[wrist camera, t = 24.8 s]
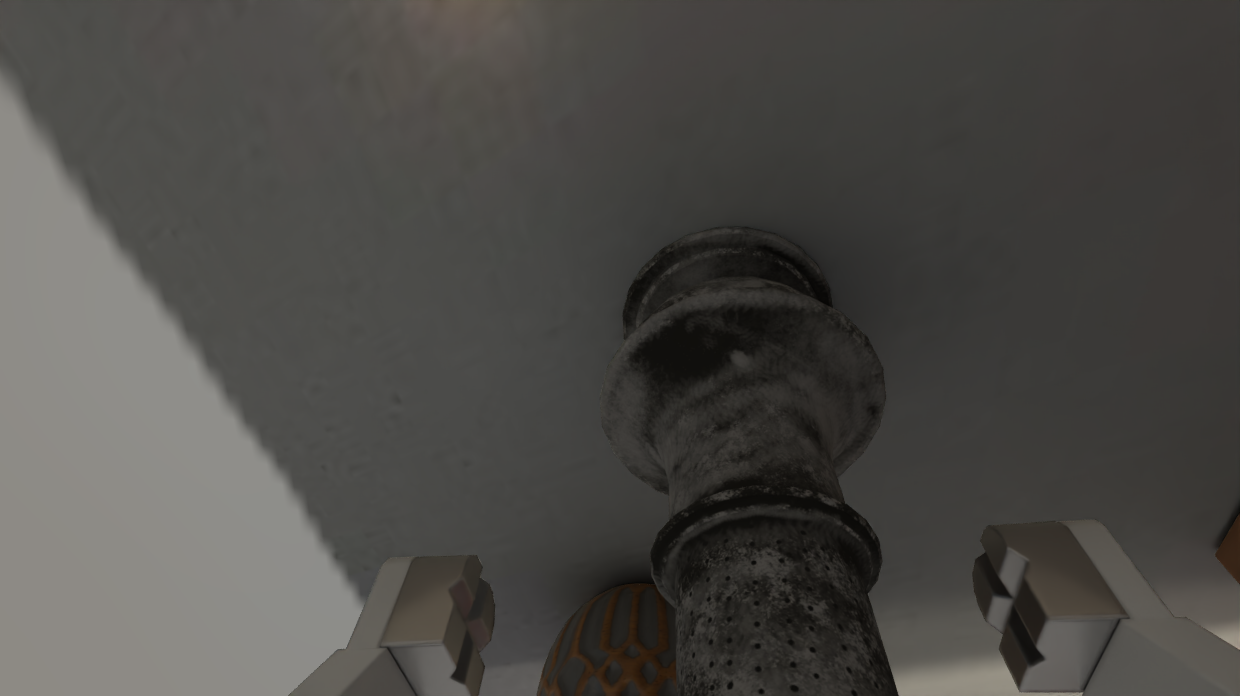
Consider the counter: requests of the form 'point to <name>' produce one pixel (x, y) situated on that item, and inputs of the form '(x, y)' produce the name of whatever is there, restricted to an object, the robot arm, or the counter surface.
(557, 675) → the vase
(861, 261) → the counter surface
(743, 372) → the grey stone turned figure
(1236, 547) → the cupboard door
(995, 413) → the counter surface
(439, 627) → the robot arm
